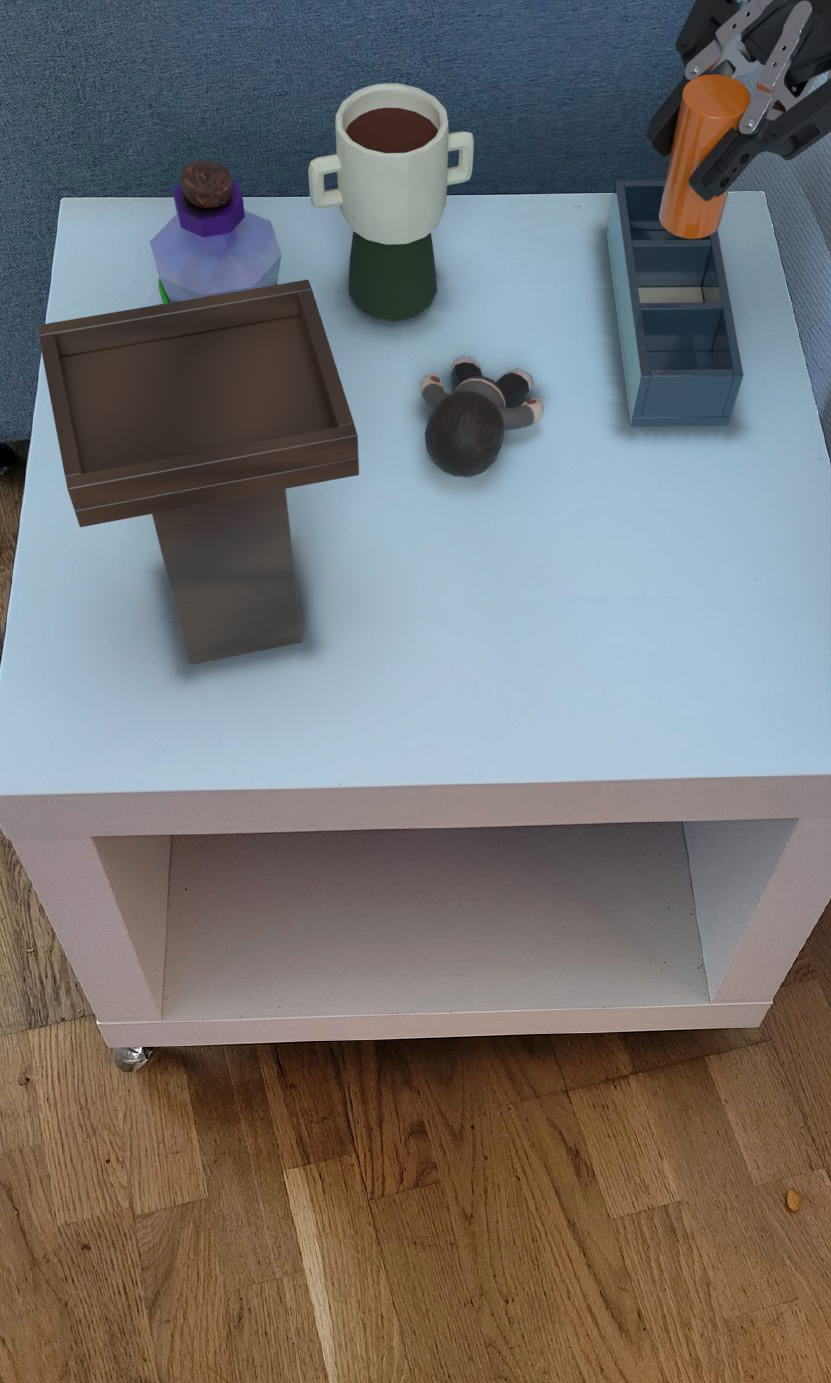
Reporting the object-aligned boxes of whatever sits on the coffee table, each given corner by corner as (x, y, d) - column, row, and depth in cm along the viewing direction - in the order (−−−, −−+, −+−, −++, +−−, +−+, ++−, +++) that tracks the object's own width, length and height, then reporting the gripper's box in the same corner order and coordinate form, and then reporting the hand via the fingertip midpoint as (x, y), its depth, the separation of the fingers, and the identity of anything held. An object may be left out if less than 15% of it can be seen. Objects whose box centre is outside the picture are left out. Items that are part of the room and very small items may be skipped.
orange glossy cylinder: (726, 204, 84) (757, 81, 77) (713, 245, 83) (744, 124, 75) (665, 191, 85) (690, 68, 77) (652, 231, 83) (676, 110, 76)
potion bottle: (141, 326, 91) (106, 164, 80) (244, 274, 93) (224, 110, 82) (210, 400, 88) (184, 243, 77) (314, 344, 90) (303, 185, 79)
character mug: (451, 248, 94) (459, 68, 83) (481, 316, 91) (493, 140, 80) (305, 276, 93) (291, 98, 81) (330, 346, 90) (320, 172, 78)
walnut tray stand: (326, 519, 84) (308, 278, 67) (366, 657, 79) (358, 435, 63) (108, 561, 82) (36, 324, 66) (137, 704, 78) (67, 489, 61)
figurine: (430, 393, 90) (387, 476, 84) (436, 324, 86) (392, 407, 80) (548, 420, 89) (513, 506, 83) (559, 353, 85) (523, 438, 79)
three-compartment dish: (696, 234, 95) (709, 179, 91) (728, 426, 87) (743, 375, 84) (606, 234, 95) (615, 180, 91) (630, 426, 87) (641, 376, 83)
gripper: (798, -216, 71) (581, 75, 79) (967, -79, 66) (716, 216, 74) (846, -131, 77) (640, 131, 85) (1004, 0, 72) (768, 265, 80)
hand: (676, 169), depth 80 cm, fingers closed on orange glossy cylinder, 4 cm apart
